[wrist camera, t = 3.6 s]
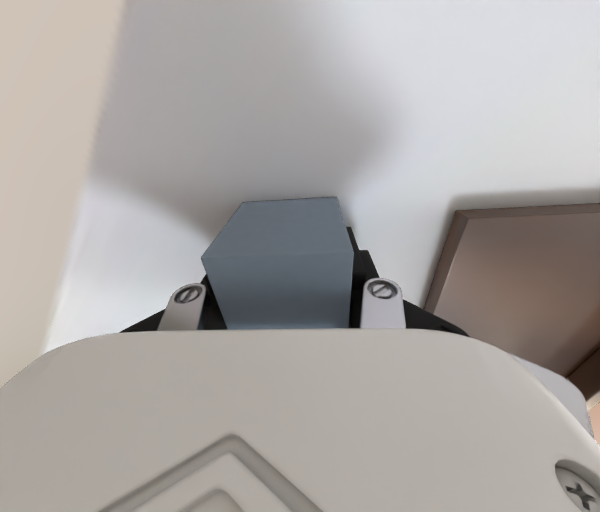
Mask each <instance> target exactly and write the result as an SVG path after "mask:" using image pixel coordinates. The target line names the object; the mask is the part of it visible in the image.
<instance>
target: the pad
mask: <svg viewBox="0 0 600 512" xmlns="http://www.w3.org/2000/svg"><path fill="white" fill-rule="evenodd" d="M353 256H354V251H353V248H352V245H351V242H350V238H349V235H348V232H347V229H346V225H345V222H344V219H343V216H342V213H341V209H340V206H339V203H338V200H337V197H327V198H309V199H291V200H273V201H256V202H243V203H242V204H241V206H240V207H239V208H238V210H237V211H236V212H235V213H234V215H233V216H232V217H231V219H230V220H229V221H228V223H227V224H226V225H225V226H224V228H223V229H222V230H221V232H220V233H219V234H218V236H217V237H216V238H215V240H214V241H213V242H212V243H211V245H210V246H209V247H208V249H207V250H206V251H205V253H204V254H203V255H202V257H201V260H202V263H203V265H204V268H205V271H206V273H207V276H208V279H209V281H210V284H211V287H212V289H213V292H214V294H215V297H216V300H217V302H218V305H219V308H220V310H221V313H222V316H223V318H224V321H225V324H226V326H227V329H228V330H243V329H333V328H348V326H349V312H350V298H351V284H352V270H353Z"/></svg>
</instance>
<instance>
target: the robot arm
mask: <svg viewBox="0 0 600 512" xmlns="http://www.w3.org/2000/svg"><path fill="white" fill-rule="evenodd" d="M346 229H347V232H348V235H349V238H350V242H351V245H352V248H353V251H354V256H353V270H352V284H351V298H350V312H349V326H348V328H333V329H243V330H228V329H227V326H226V324H225V321H224V318H223V316H222V313H221V310H220V308H219V305H218V302H217V300H216V297H215V294H214V292H213V289H212V287H211V284H210V281H209V279H208V276H207V274H206V275H205V277H204V278H203V280H202V281H201V283H192V284H188V285H185V286H183V287H181V288H179V289H178V290H176V291H175V292H174V293H173V294H172V296H171V298H170V300H169V302H168V305H167V307H166V309H164V310H162V311H160V312H158V313H156V314H154V315H152V316H150V317H148V318H146V319H144V320H142V321H140V322H138V323H136V324H134V325H132V326H131V327H129V328H127V329H125V330H123V331H121V332H119V333H113V334H105V335H99V336H94V337H90V338H85V339H82V340H78V341H75V342H72V343H68V344H66V345H63V346H61V347H58V348H56V349H54V350H51V351H49V352H47V353H45V354H44V355H42V356H40V357H39V358H37V359H36V360H35V361H33V362H32V363H31V364H29V365H28V366H27V367H25V368H24V369H23V370H22V371H21V372H19V373H18V374H16V375H15V376H14V377H13V378H12V379H11V380H9V381H8V382H7V383H6V384H4V385H3V386H2V387H1V388H0V512H600V446H599V445H598V443H597V442H596V441H595V440H594V435H593V431H592V426H591V421H590V417H589V412H588V407H587V403H586V400H585V398H584V396H583V394H582V393H581V392H580V390H579V389H578V388H577V387H576V386H575V385H574V384H573V383H571V382H570V381H569V380H567V379H566V378H565V377H563V376H561V375H559V374H557V373H555V372H553V371H551V370H549V369H546V368H544V367H542V366H539V365H537V364H534V363H532V362H530V361H527V360H525V359H522V358H520V357H518V356H515V355H513V354H510V353H508V352H505V351H503V350H501V349H499V348H497V347H495V346H493V345H490V344H488V343H485V342H483V341H480V340H477V339H473V338H470V336H469V335H468V334H467V333H466V332H465V331H464V330H462V329H461V328H459V327H457V326H456V325H454V324H452V323H450V322H448V321H446V320H444V319H442V318H440V317H438V316H436V315H434V314H432V313H430V312H428V311H426V310H424V309H422V308H420V307H417V306H415V305H413V304H411V303H409V302H407V301H405V300H403V298H402V291H401V288H400V287H399V286H398V285H397V284H396V283H395V282H393V281H391V280H388V279H384V278H379V275H378V273H377V271H376V268H375V266H374V263H373V261H372V259H371V256H370V254H369V252H368V250H359V249H358V246H357V243H356V240H355V237H354V234H353V232H352V229H351V227H346Z"/></svg>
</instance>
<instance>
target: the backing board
mask: <svg viewBox="0 0 600 512" xmlns="http://www.w3.org/2000/svg"><path fill="white" fill-rule="evenodd" d="M424 310H426V311H428V312H430V313H432V314H434V315H436V316H438V317H440V318H442V319H444V320H446V321H448V322H450V323H452V324H454V325H456V326H457V327H459V328H461V329H462V330H464V331H465V332H466V333H467V334H468V335H469V336H470V338H473V339H477V340H480V341H483V342H485V343H488V344H490V345H493V346H495V347H497V348H499V349H501V350H503V351H505V352H508V353H510V354H513V355H515V356H518V357H520V358H522V359H525V360H527V361H530V362H532V363H534V364H537V365H539V366H542V367H544V368H546V369H549V370H551V371H553V372H555V373H557V374H559V375H561V376H563V377H565V378H566V379H567V380H569V381H570V382H571V383H573V384H574V385H575V386H576V387H577V388H578V389H579V390H580V392H581V393H582V394H583V396H584V398H585V400H586V403H587V407H588V411H589V410H590V409H591V408H593V407H594V406H596V405H597V404H598V403H600V203H599V204H579V205H559V206H539V207H519V208H499V209H479V210H459V211H456V212H455V215H454V218H453V221H452V224H451V227H450V231H449V234H448V237H447V240H446V243H445V246H444V249H443V252H442V255H441V258H440V261H439V264H438V267H437V270H436V273H435V276H434V279H433V282H432V285H431V288H430V292H429V295H428V298H427V301H426V304H425V307H424Z"/></svg>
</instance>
